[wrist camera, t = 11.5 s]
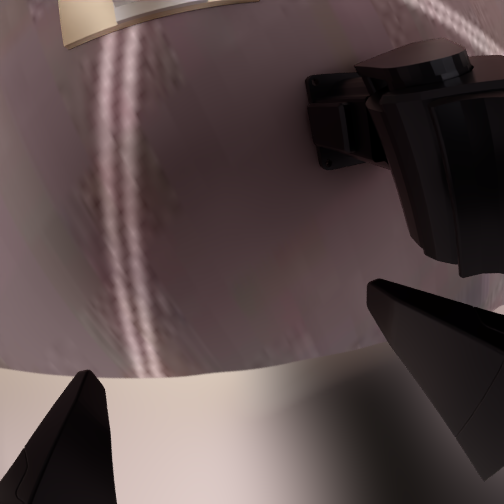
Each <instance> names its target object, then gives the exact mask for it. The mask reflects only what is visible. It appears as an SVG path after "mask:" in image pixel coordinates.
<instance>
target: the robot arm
mask: <svg viewBox="0 0 504 504" xmlns="http://www.w3.org/2000/svg"><path fill="white" fill-rule="evenodd" d="M354 67H355V69H356V71H357V72H356V73H335V74H321V75H312V76H309V77H308V78H307V79H306V87H307V92H308V98H309V103H310V104H309V106H308V113H309V118H310V124H311V130H312V136H313V142H314V144H316V145H317V150H318V157H319V163H320V166H321V167H322V168H323V169H325V170H333V169H337V168H342V167H346V166H351V165H356V164H360V163H365V162H367V163H371V164H374V165H377V166H380V167H383V168H386V169H389V170H391V173H392V176H393V179H394V182H395V185H396V188H397V191H398V195H399V198H400V201H401V205H402V208H403V212H404V216H405V219H406V223H407V227H408V230H409V233H410V236H411V237H412V238H413V239H414V241H415V242H416V243H417V244H418V245H419V246H420V247H421V248H423V250H424V254H425V255H426V256H429V257H431V258H433V259H435V260H437V261H441V262H445V263H450V264H458V267H459V276H460V277H462V278H465V277H469V276H473V275H478V274H482V273H502V274H504V56H502V55H487V56H472V57H468V55H467V52H466V49H465V48H464V47H463V46H461V45H459V44H457V43H455V42H453V41H450V40H448V39H446V38H438V39H432V40H426V41H420V42H415V43H411V44H408V45H405V46H402V47H400V48H397V49H394V50H391V51H389V52H386V53H383V54H381V55H378V56H376V57H373V58H371V59H368V60H366V61H364V62H361V63H359V64H356V65H354ZM313 79H314V80H315V81H316V85H315V86H314V85H313V84H312V80H313ZM326 160H329V164H328V165H327V166H326V164H325V163H326ZM367 307H368V309H369V311H370V313H371V315H372V316H373V318H374V320H375V321H376V323H377V325H378V326H379V328H380V330H381V331H382V333H383V335H384V336H385V338H386V340H387V341H388V343H389V345H390V346H391V347H392V349H393V350H394V351H395V353H396V354H397V355H398V356H399V358H400V359H401V361H402V362H403V364H404V365H405V366H406V368H407V369H408V370H409V372H410V373H411V374H412V376H413V377H414V379H415V380H416V381H417V383H418V384H419V386H420V387H421V388H422V390H423V391H424V393H425V394H426V395H427V397H428V398H429V400H430V401H431V402H432V404H433V405H434V407H435V408H436V410H437V411H438V413H439V414H440V415H441V417H442V418H443V420H444V421H445V423H446V424H447V426H448V427H449V429H450V430H451V432H452V433H453V435H454V436H455V437H456V439H457V441H458V443H459V444H460V446H461V447H462V449H463V450H464V452H465V453H466V455H467V456H468V458H469V459H470V461H471V463H472V464H473V466H474V467H475V469H476V471H477V472H478V474H479V475H480V477H481V479H482V480H483V481H486V480H487V479H488V478H490V477H491V476H492V475H494V474H495V473H496V472H497V471H499V470H500V469H501V468H502V467H504V315H502V314H498V313H495V312H491V311H487V310H484V309H481V308H477V307H474V308H473V306H471V305H467V304H464V303H461V302H457V301H454V300H451V299H448V298H444V297H441V296H438V295H434V294H431V293H427V292H424V291H421V290H417V289H414V288H411V287H407V286H404V285H401V284H397V283H394V282H390V281H387V280H384V279H380V278H379V279H375V280H373V281H371V282H369V283H368V285H367ZM0 504H117V500H116V493H115V484H114V475H113V463H112V449H111V434H110V425H109V417H108V410H107V401H106V393H105V389H104V387H103V385H102V384H101V383H100V381H99V380H98V379H97V377H96V376H95V375H94V373H93V372H92V371H91V370H83V371H79V372H78V373H77V374H76V375H75V377H74V378H73V379H72V381H71V382H70V383H69V385H68V386H67V387H66V389H65V390H64V392H63V393H62V394H61V396H60V397H59V398H58V400H57V401H56V402H55V404H54V405H53V406H52V408H51V409H50V411H49V412H48V414H47V415H46V416H45V418H44V419H43V421H42V422H41V423H40V425H39V426H38V428H37V429H36V431H35V432H34V433H33V435H32V436H31V438H30V439H29V441H28V443H27V444H26V445H25V448H24V449H23V450H22V451H21V453H20V454H19V456H18V457H17V459H16V460H15V462H14V463H13V465H12V466H11V467H10V469H9V470H8V472H7V473H6V474H5V476H4V477H3V478H2V480H1V481H0Z"/></svg>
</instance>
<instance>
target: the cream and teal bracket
mask: <svg viewBox="0 0 504 504" xmlns="http://www.w3.org/2000/svg"><path fill="white" fill-rule="evenodd" d="M258 1H260V0H58V3H59V13H60V22H61V30H62V37H63V44H64V47H66V48H67V49H72V48H74V47H76V46H78V45H81V44H83V43H85V42H88V41H90V40H93V39H95V38H98V37H100V36H103V35H106V34H108V33H111V32H114V31H117V30H120V29H123V28H126V27H129V26H132V25H135V24H139V23H142V22H145V21H149V20H153V19H156V18H160V17H164V16H168V15H172V14H177V13H181V12H186V11H191V10H196V9H202V8H208V7H214V6H221V5H228V4H237V3H246V2H258Z"/></svg>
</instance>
